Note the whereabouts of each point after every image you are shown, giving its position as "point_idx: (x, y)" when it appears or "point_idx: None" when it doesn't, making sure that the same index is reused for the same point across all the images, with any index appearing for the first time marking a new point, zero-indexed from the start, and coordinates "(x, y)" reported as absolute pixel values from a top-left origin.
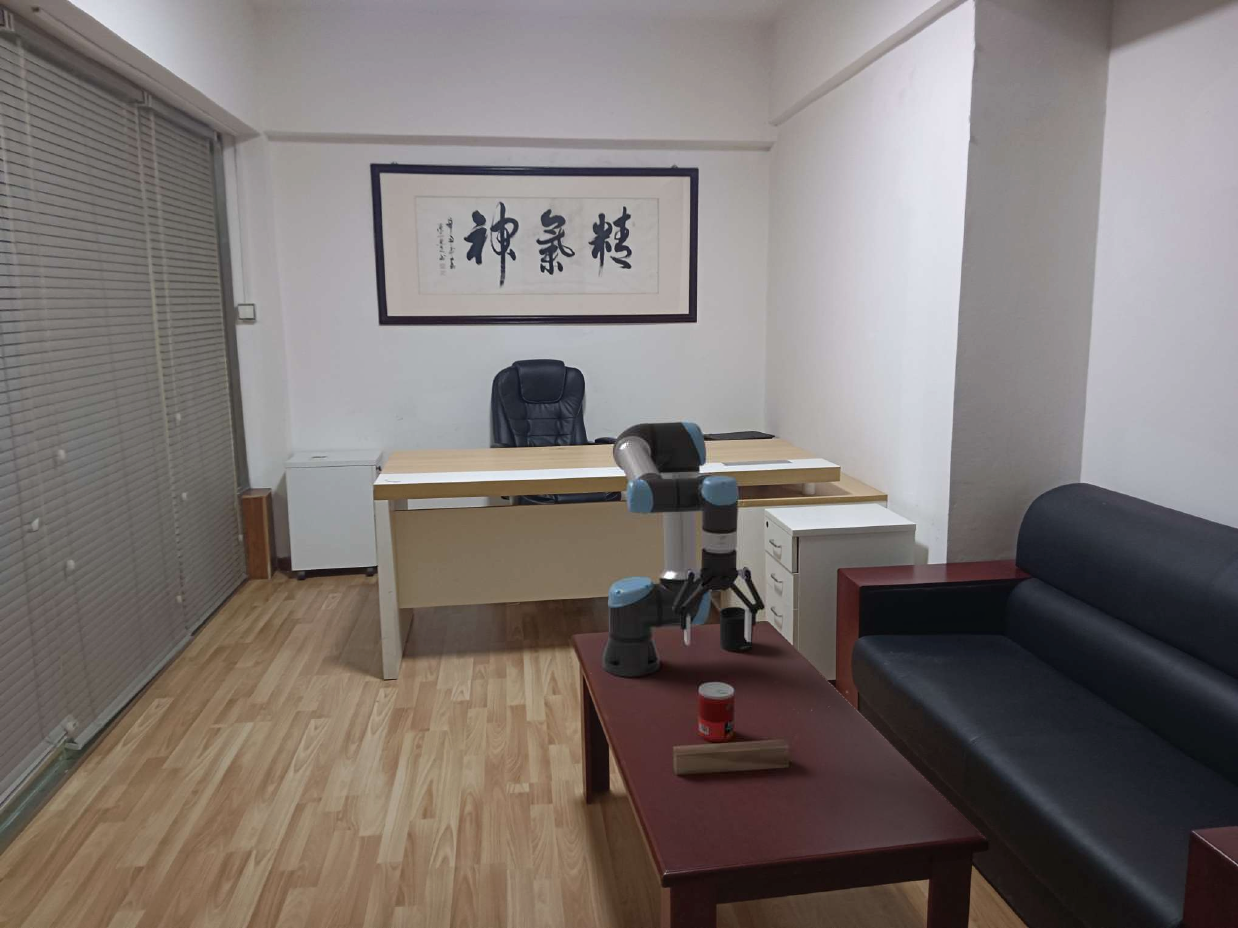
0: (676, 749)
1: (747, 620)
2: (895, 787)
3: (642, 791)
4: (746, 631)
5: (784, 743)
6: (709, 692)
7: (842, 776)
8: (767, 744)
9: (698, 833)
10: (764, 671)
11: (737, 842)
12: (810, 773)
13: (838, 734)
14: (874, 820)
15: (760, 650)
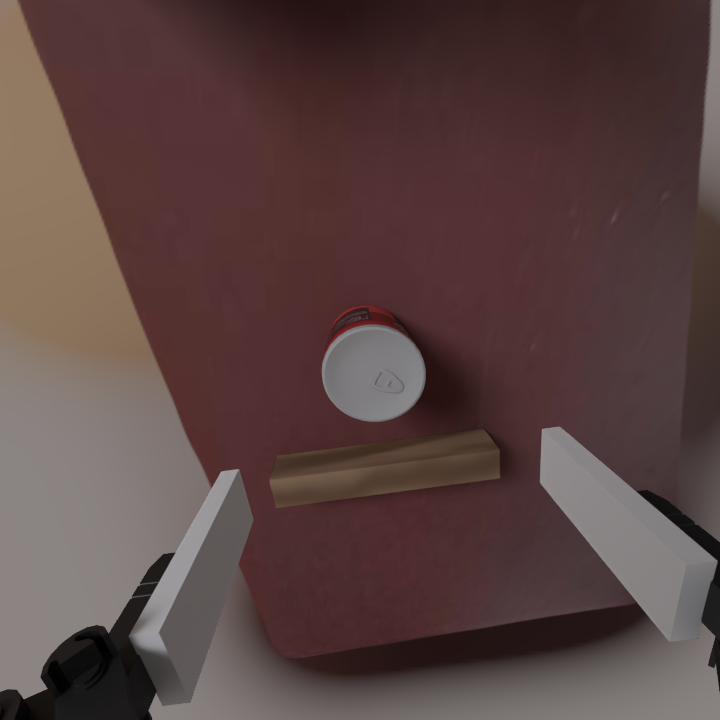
0: (276, 490)
1: (622, 570)
2: None
3: None
4: (568, 491)
5: (494, 465)
6: (352, 385)
7: None
8: (459, 468)
9: (316, 605)
10: None
11: (366, 618)
12: (514, 471)
13: (623, 337)
14: (561, 574)
15: None
